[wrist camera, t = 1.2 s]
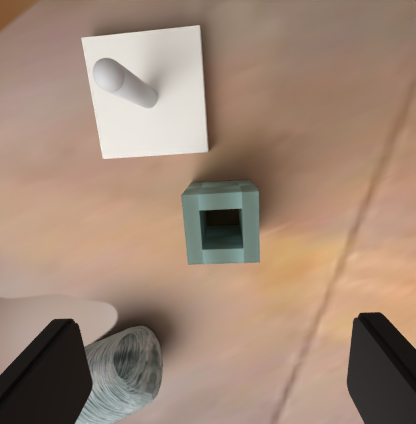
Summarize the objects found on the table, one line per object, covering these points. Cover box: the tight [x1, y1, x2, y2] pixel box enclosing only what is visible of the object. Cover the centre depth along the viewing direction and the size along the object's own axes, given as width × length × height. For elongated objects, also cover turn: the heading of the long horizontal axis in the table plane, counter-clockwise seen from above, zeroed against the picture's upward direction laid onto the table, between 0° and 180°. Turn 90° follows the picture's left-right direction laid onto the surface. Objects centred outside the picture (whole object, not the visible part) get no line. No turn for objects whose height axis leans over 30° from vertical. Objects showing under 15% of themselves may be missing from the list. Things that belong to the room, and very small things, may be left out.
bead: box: [181, 180, 260, 265], centre depth 23 cm, size 6×6×6 cm
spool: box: [75, 326, 163, 424], centre depth 28 cm, size 14×10×10 cm
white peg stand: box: [82, 25, 209, 159], centre depth 18 cm, size 10×10×10 cm
